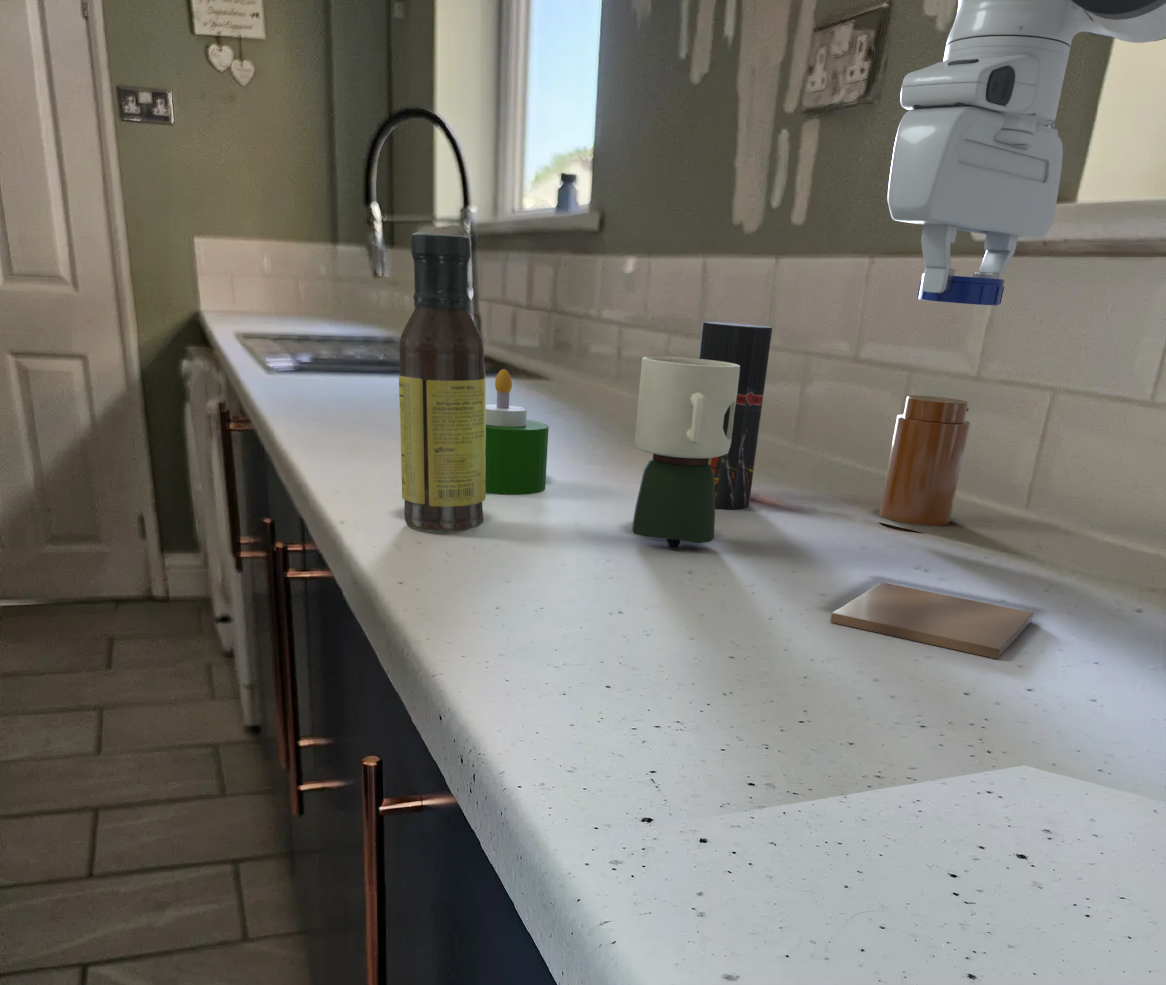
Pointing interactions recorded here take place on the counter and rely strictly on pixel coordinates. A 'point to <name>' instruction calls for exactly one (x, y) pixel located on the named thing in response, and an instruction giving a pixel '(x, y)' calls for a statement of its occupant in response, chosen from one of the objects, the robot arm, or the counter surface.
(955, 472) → the jar
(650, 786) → the counter surface
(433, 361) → the sauce bottle
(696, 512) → the character mug
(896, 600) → the coaster
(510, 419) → the candle
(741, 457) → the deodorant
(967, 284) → the jar lid
